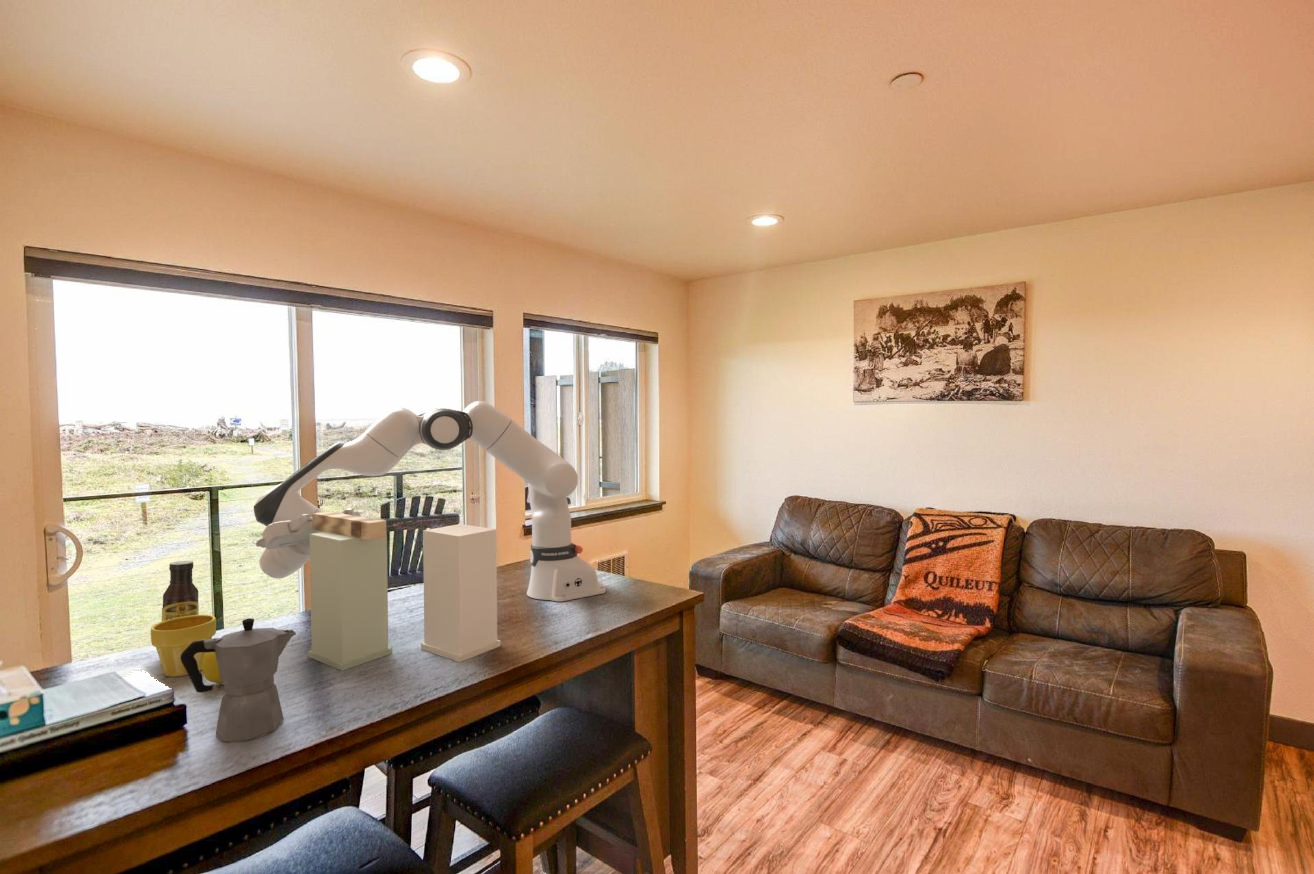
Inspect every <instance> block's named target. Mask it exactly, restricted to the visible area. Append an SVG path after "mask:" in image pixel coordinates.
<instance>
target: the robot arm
mask: <svg viewBox="0 0 1314 874" xmlns="http://www.w3.org/2000/svg"><path fill="white" fill-rule="evenodd" d="M467 440H470V441H473V442H474V443H476V444H478V445H479V447H481V448H482V449H483V450H485V452H487V453H488V454H490V455H491V456H492V457H494V458H495V460H498V462H500V463H501V464H502V465H504V466H505V467H506V468H508V470H510V471H512V472H513V473H515V474H516V475H517V476H519V477H520V478H521V479H523V480H524V481H526V482H527V489H528V497H529V505H530V506H529V507H530V510H531V511H530V513H531V541H532V543H531V545H530V551H529V552H530V553H529V559H530V561H529V562H530V566H531V568H530V569H531V571H530V577H529V582H528V587H527V591H526V596H528V597H529V598H531V599H536V600H544V601H545V600H547V601H553V602H565V601H570V600H575V599H581V598H586V597H592V596H596V595H601V594H602V595H603V594H605V593H606V592H607V589H606V585H604V583H602V582H600V581H598V580H599V579H598V574H597V571H596V569H595V568H594V567H593V566H592V565H591V564H590V563H588V561H585V560H584V559H583V558H581V557H580V556H579V555H578V554H582V552H584V551H583V550H584V549H583V547H582V546H580V545H577V544H575V543H573V542H572V514H571V512H570V507H569V502H568V498H567V497H568V496H570V495H572V493H574V492H575V490H576V489H577V487H578V483H579V482H578V481H579V477H578V473H577V471H576V469H575V467H574V466H572V464H571V463H570V462H568V461H567V460H565V459H564V457H562V456H560V455H559V454H558V453H557V452H555V451H554V450H553V449H551V448H550V447H548V446H547V445H545V444H544V443H542V442H541V441H540V440H538V439H537V438H535V437H534V436H533V435H531V434H530V433H529V432H528V431H527V430H525V429H524V428H523V427H522V426H521V425H519V423H516V421H515V420H513V419H512V418H511V417H509V415H507V414H506V413H504V412H503V411H501V410H500V409H498V408H497V407H495V406H493V405H492V404H489V403H488V402H487V401H483V400H476V401H473V402H471V403H469V404H468V405H467V406H466V407H465V408H464V409H463V410H462V411H461V410H455V409H451V408H445V407H443V408H442V407H438V408H434V409H431V410H429V411H427V412H425V413H420V414H418V415H417V414H416V413H414V412H412V411H411V410H410V409H408V408H405V407H400V406H398V407H393V408H391V409H389V410H388V411H386V413H384V414H383V415H381V416H380V417H379V418H378V419H377V420H375V421H374V422H373V423H372V424H371V425H370V426H369V427H368V428H367V429H366V430H365V432H364V433H362V434H361V435H360V436H359V437H357V438H356V439H353V440H351V441H348V442H344V441H338V442H336V443H334V444H333V445H332V444H331V445H330V446H329V447H328V448H326V449H325V450H323V451H322V452H320V453H319V454H317V455H316V456H315V457H313V458H312V459H311V460H309V461H308V462H307V463H306V464H304V465H303V466H301V467H300V468H299V469H298V470H296V471H295V472H294V473H292V474H291V475H290V476H288V478H286V479H285V480H284V481H282V482H281V483H279V484H277V485H275V486H273V487H272V488H270V489H268V490H266V491H265V492H264V493H263V494H262V495H261V496H259V498H258V499H257V500H256V502H255V504H254V505H253V513H254V518H255V520H256V522H257V523H259V524H261V525H263V526H265V528H264V530H263V532H262V534H261V537H262V538H259V539H258V540H257V542H256V543H255V546H256V547H258V548H259V547H261V548H265V549H264V551H263V552H262V554H261V556H260V558H259V567H260V569H261V571H262V573H264V574H265V575H266V576H268V577H270V578H273V579H284V578H286V577H289V576H291V575H292V574H294V573H296V572H297V571H298V570H300V569H302V567H304V566H305V564H306V563H307V562H308V561H310V534H314V533H321V532H323V531H318V530H314V529H313V515H312V514H313V513H321V512H325V511H324V510H323V509H321V508H319V507H318V506H315V505H314V503H311V502H310V501H309V500H307V499H306V498H304V497H302V496H301V495H300V493H299V492H300V491H301V490H302V489H303V488H304V487H305V486H307V485H308V484H310V482H311V483H312V481H313V480H314V479H316V478H317V477H319V476H320V475H321V474H322V473H324V472H325V471H328V470H343V471H347V472H350V473H354V474H357V475H361V476H364V477H365V476H366V477H380V476H383V475H385V474H387V473H388V472H390V471H391V470H392V469H393V468H394V467H395V466H396V465H397V464H398V463H400V461H401V460H402V459H403V457H404V456H405V455H406V454H407V453H408V452H409V451H410V450H411V449H412V448H413V447H415V446H416V445H419V444H424V445H427V446H428V447H430V448H432V449H434V450H438V451H447V450H451V449H454V448H456V447H458V446H459V445H461V444H462V443H464V442H465V441H467ZM341 514H347V515H353V516H360V517H362V515H361V513H360V512H359V511H355V510H354V508H346V509H344V510H343V511H342V513H341Z"/></svg>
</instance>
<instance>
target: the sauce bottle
mask: <svg viewBox="0 0 1314 874" xmlns="http://www.w3.org/2000/svg"><path fill="white" fill-rule="evenodd" d="M193 569H194V561H193V560H179V561H178V560H177V561H173V562H171V563H169V567H168V570H169V571H170V572H169V577H170V578H169V584H168V587H167V588H166V590H165V592H163V594H162V608H161V622H162V621H166V620H169V619H173V618H178V617H184V616H191V615H200V613H199V610H200V609H199V608H200V607H199V589H198V588H197V587H196V585H195V584H194V583H193Z"/></svg>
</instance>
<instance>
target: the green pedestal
mask: <svg viewBox="0 0 1314 874" xmlns="http://www.w3.org/2000/svg"><path fill="white" fill-rule="evenodd" d="M387 534H388V532H386V538H382V539H376V540H365V539H360V538H355V537H349V536H344V535H339V534H334V533H328V532H321V533H314V534H310V560H309V567H310V569H309V570H310V576H309V579H310V620H311V622H310V623H311V625H310V627H311V649H310V650H307V653H308V654H307V656H308V657H309V658H310V659H313V660H316V661H317V662H320V663H323V664H325V665H327V666H329V667H332V668H335V669H337V670H339V671H345V670H348V669H351V668H354V667H356V666H359V665H361V664H365V663H368V662H372V661H373V660H376V659H377V660H378V659H380V658H382V657H385V656H388V655H391V654H393V647H390V646H389V606H388V605H389V602H388V601H389V596H388V595H389V594H388V537H387V536H388V535H387Z"/></svg>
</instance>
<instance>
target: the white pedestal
mask: <svg viewBox="0 0 1314 874" xmlns="http://www.w3.org/2000/svg"><path fill="white" fill-rule="evenodd" d="M422 545H423V546H422V549H423V550H422V551H423V552H422V556H423V557H422V559H423V563H422V564H423V565H422V566H423V567H422V569H423V571H422V572H423V630H424V631H423V633H424V634H423V635H424V636H423V637H424V638H423V639H424V640H423V642H422V643H420V649H421V650H422V651H426V652H429V653H431V654H434V655H437V656H440V657H443V658H447V659H450V660H452V661H454V662H458V663H461V662H464V661H466V660H469V659H471V658H474V657H476V656H478V655H482V654H484V653H486V652H487V653H488V652H489V651H491V650H494V649H496V648H499V647H501V643H502V642H501V640H499V639H498V574H497V573H498V567H497V565H498V563H497V559H498V558H497V553H498V551H497V550H498V549H497V528H491V527H484V526H477V525H471V524H470V525H469V524H464V523H463V524H462V523H458V524H453V525H448V526H447V525H446V526H442V527H437V528H430V529H423V530H422Z"/></svg>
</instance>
